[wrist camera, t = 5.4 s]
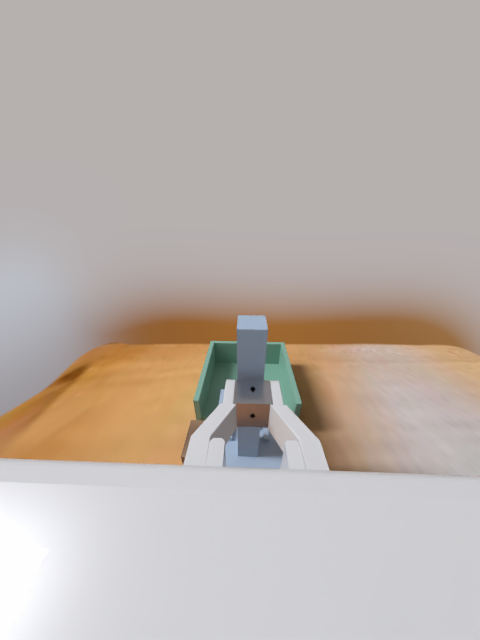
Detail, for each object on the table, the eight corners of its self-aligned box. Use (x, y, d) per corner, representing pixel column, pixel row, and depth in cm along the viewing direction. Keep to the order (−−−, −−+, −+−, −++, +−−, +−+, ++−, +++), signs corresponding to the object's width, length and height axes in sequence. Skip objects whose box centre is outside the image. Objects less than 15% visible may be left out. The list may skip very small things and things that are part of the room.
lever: (309, 627, 10) (432, 536, 3) (186, 619, 10) (98, 521, 4) (274, 397, 22) (288, 287, 16) (220, 395, 22) (213, 286, 16)
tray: (295, 430, 24) (301, 403, 22) (197, 427, 24) (193, 400, 22) (281, 365, 35) (284, 342, 32) (212, 363, 35) (210, 340, 33)
